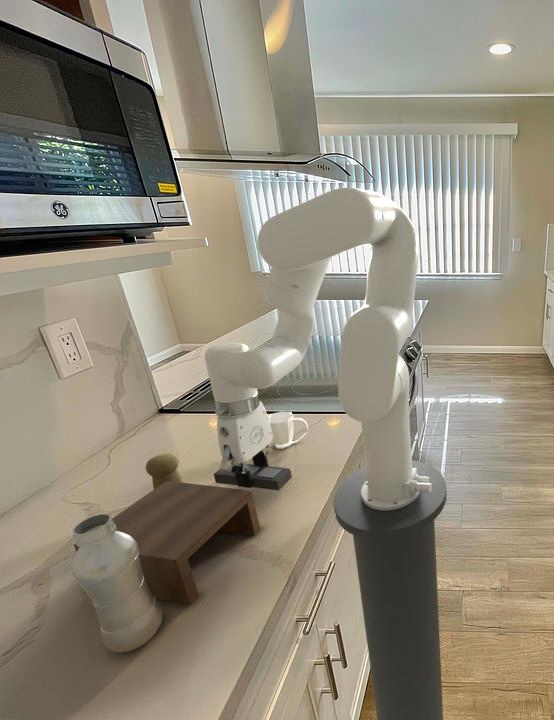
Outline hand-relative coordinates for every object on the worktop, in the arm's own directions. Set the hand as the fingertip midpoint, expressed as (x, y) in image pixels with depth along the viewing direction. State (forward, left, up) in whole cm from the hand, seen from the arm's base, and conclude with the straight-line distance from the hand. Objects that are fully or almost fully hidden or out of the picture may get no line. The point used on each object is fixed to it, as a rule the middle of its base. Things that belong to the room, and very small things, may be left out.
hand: (254, 478), depth 86 cm
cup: (+4, -18, -3) cm, 19 cm away
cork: (+14, +7, -3) cm, 16 cm away
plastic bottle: (-6, +32, -3) cm, 33 cm away
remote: (0, 0, -1) cm, 1 cm away
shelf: (0, +19, -3) cm, 19 cm away
